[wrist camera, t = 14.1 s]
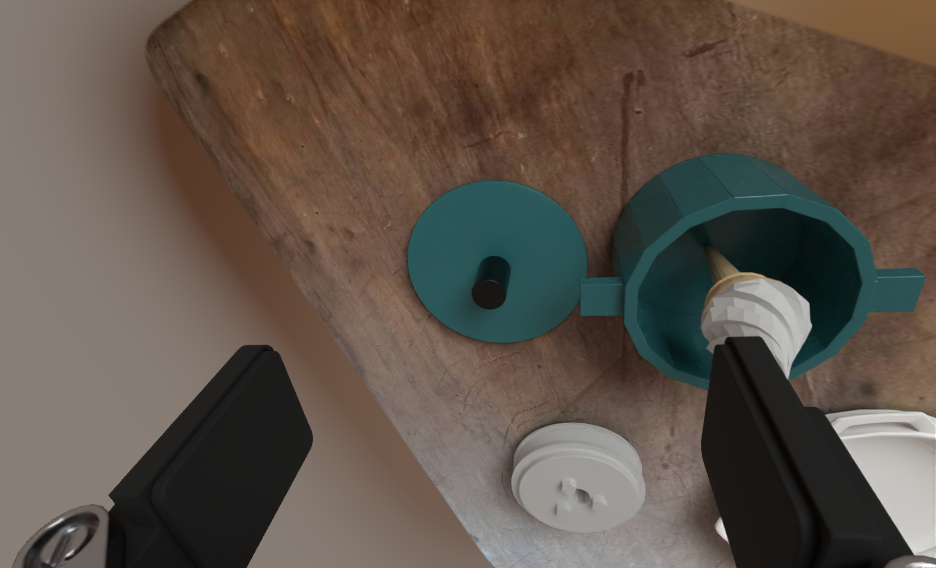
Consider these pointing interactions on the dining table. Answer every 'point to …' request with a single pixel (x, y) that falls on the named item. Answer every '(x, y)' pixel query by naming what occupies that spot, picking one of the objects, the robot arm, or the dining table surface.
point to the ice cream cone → (753, 310)
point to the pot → (737, 261)
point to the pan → (894, 467)
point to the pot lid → (497, 261)
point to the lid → (578, 477)
